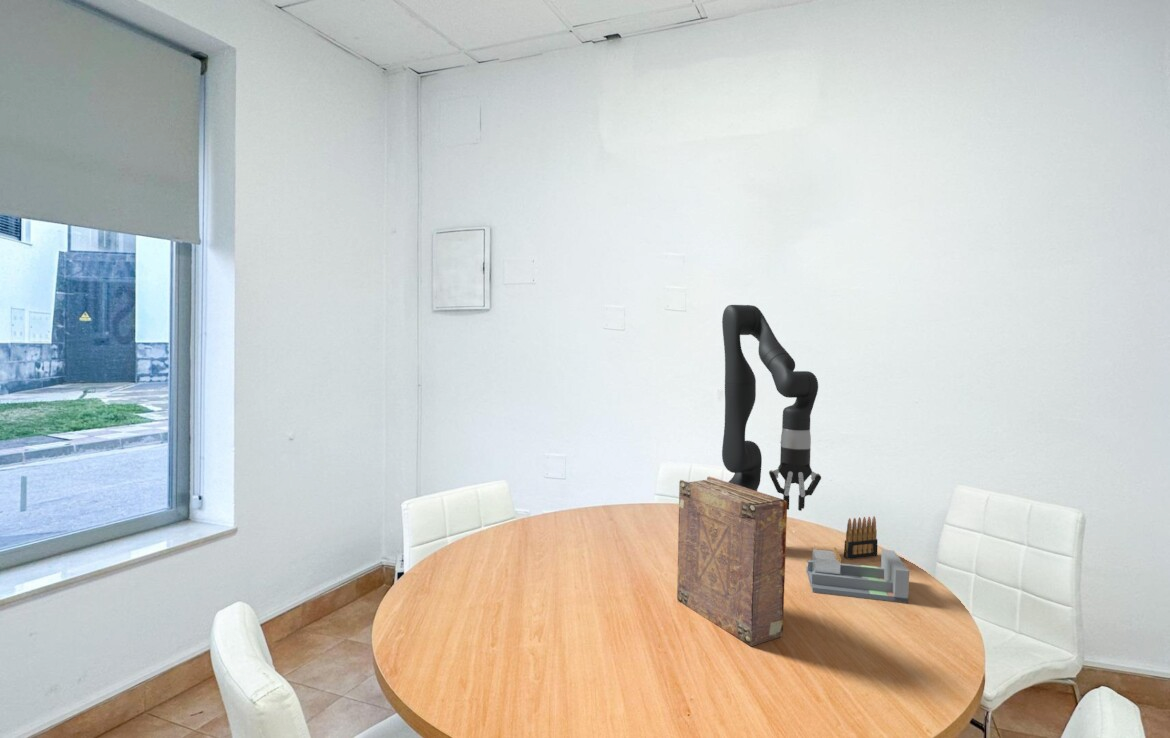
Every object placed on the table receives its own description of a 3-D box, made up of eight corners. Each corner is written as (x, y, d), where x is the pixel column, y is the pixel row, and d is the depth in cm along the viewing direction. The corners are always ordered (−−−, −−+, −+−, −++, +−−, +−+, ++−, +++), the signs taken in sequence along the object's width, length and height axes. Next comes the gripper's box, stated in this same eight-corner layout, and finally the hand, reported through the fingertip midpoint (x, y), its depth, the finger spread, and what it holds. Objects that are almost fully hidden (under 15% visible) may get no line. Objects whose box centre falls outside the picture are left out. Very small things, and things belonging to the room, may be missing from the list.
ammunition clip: (873, 553, 177) (874, 515, 177) (877, 556, 175) (879, 516, 175) (843, 557, 174) (844, 517, 174) (847, 559, 172) (849, 519, 172)
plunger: (815, 581, 152) (816, 556, 151) (811, 569, 160) (812, 545, 159) (840, 584, 150) (841, 558, 150) (835, 572, 158) (836, 547, 158)
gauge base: (812, 592, 149) (813, 561, 148) (806, 570, 163) (807, 542, 163) (908, 603, 143) (909, 571, 143) (892, 579, 158) (893, 550, 157)
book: (676, 600, 143) (678, 479, 142) (705, 592, 148) (708, 475, 147) (751, 647, 121) (755, 505, 120) (783, 637, 126) (787, 500, 124)
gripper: (768, 446, 154) (767, 510, 155) (825, 449, 150) (823, 515, 151) (767, 441, 161) (766, 503, 162) (821, 444, 157) (819, 507, 158)
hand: (793, 509), depth 156 cm, fingers closed
